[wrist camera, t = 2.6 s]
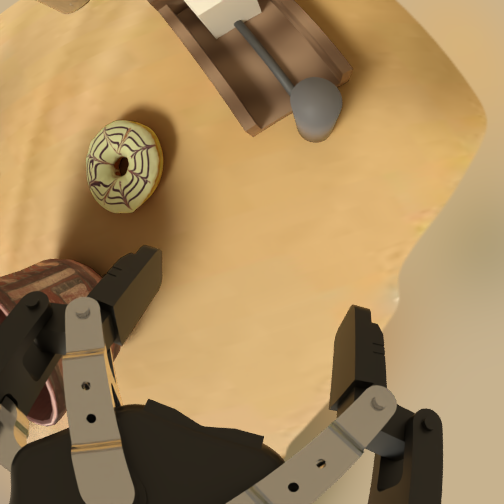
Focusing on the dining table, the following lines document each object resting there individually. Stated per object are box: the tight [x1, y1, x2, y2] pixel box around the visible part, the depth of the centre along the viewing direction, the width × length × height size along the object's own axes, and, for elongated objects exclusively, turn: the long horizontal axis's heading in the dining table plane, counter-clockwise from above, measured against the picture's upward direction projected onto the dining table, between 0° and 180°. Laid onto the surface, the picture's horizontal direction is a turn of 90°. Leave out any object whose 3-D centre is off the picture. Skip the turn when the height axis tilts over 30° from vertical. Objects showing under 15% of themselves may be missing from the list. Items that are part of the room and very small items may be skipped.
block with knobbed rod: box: [184, 0, 342, 142], centre depth 23 cm, size 22×6×10 cm, turn 32°
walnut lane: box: [147, 0, 353, 137], centre depth 26 cm, size 20×12×6 cm, turn 32°
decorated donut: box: [86, 120, 164, 213], centre depth 33 cm, size 10×11×4 cm
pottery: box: [0, 259, 121, 426], centre depth 32 cm, size 18×18×18 cm
